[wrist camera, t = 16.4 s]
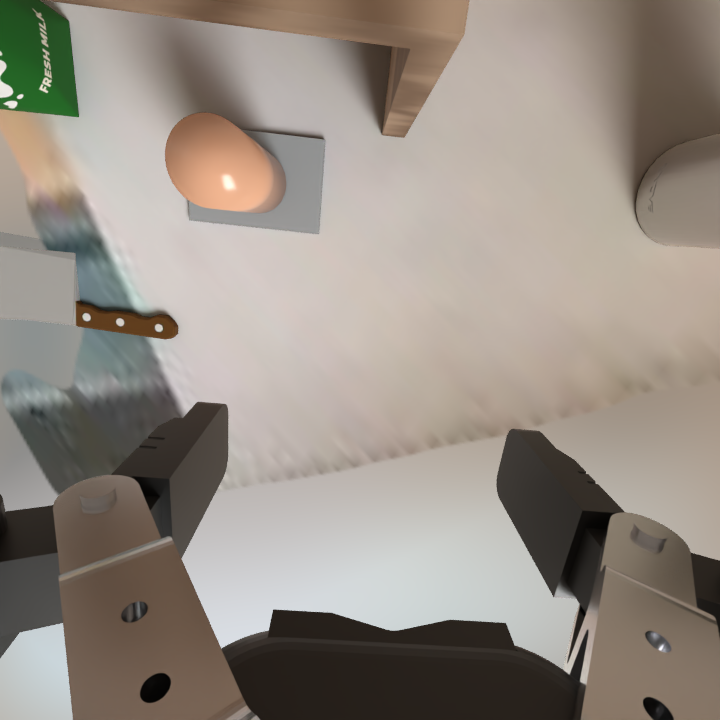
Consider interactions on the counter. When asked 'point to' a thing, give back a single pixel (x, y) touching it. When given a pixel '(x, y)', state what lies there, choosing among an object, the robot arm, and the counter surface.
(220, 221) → the slate mat
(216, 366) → the counter surface
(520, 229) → the counter surface
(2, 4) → the milk carton
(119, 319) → the kitchen cleaver
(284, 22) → the walnut shelf
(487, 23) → the counter surface
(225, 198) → the peach cylinder
